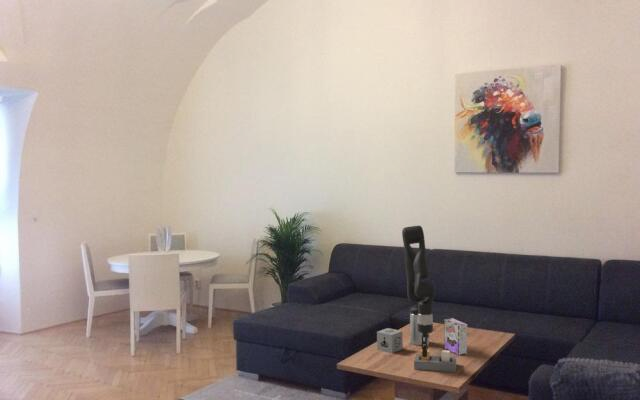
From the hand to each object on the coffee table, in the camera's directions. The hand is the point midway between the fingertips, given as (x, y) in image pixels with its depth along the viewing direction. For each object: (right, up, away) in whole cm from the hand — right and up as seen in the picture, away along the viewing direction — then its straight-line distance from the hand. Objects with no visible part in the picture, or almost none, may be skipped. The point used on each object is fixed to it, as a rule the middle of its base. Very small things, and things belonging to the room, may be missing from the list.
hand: (425, 354), depth 291 cm
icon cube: (-14, -5, +29) cm, 33 cm away
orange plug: (0, -5, 0) cm, 5 cm away
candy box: (+21, -5, +24) cm, 32 cm away
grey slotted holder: (+5, -6, -1) cm, 8 cm away
